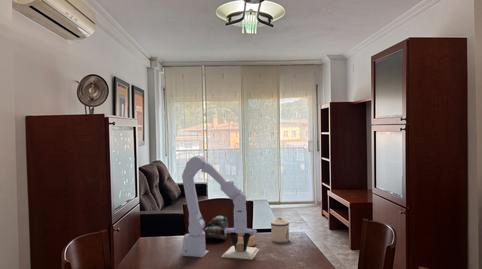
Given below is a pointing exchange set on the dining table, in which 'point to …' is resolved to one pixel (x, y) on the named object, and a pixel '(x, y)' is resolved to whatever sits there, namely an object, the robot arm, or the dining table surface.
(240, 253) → the cover plate
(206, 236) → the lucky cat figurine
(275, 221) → the teacup with lid
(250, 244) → the bowl
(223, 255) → the mat
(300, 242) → the dining table surface
